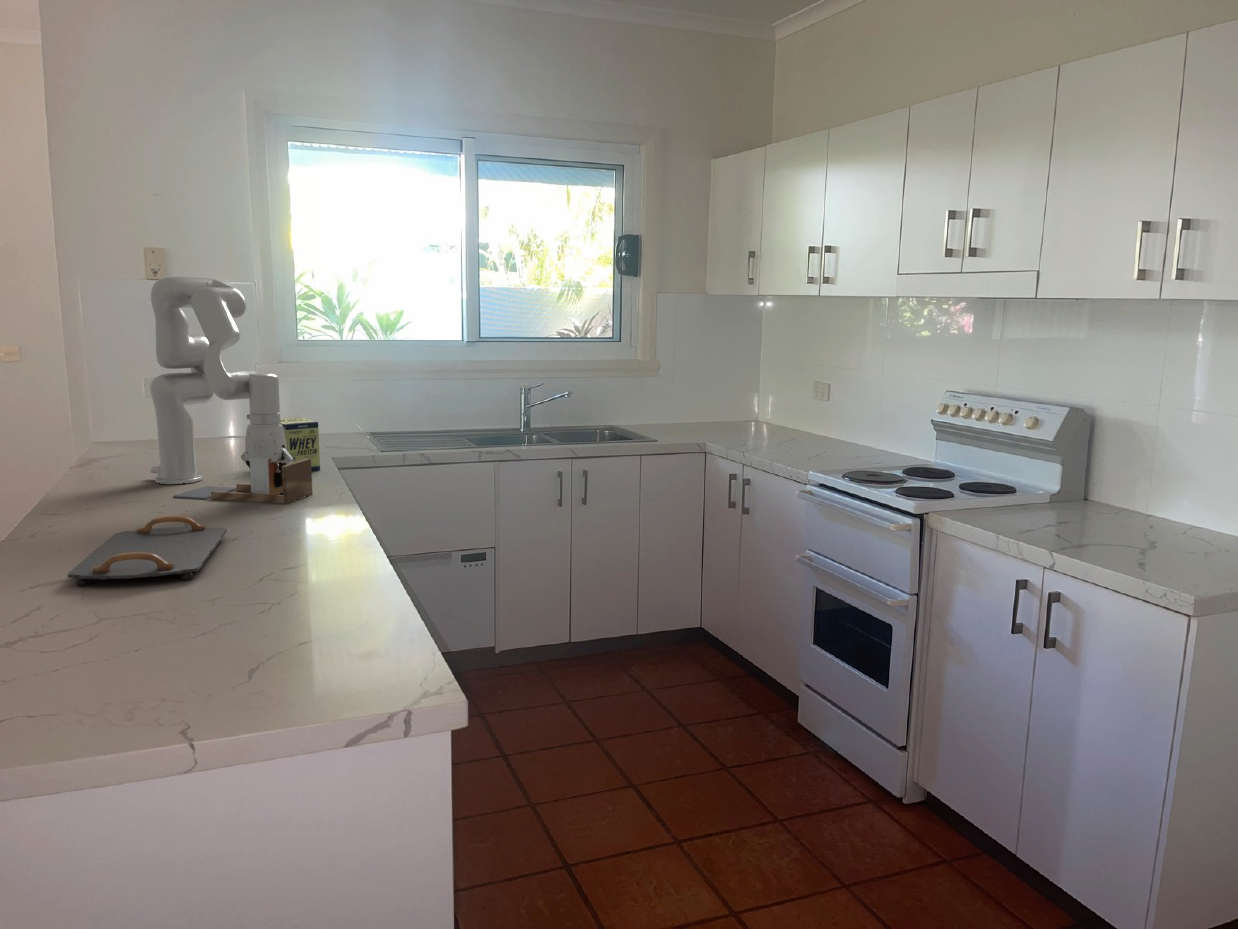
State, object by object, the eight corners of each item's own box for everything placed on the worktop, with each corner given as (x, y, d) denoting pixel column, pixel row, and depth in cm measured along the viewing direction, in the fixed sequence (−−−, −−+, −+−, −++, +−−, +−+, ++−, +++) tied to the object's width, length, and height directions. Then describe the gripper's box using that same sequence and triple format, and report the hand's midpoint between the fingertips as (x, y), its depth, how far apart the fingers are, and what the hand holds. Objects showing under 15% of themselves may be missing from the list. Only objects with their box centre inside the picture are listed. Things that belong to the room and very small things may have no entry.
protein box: (288, 474, 282) (286, 424, 279) (269, 467, 294) (267, 419, 291) (321, 470, 289) (319, 421, 286) (301, 463, 300) (299, 416, 298)
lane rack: (211, 499, 245) (208, 462, 243) (239, 490, 257) (237, 455, 255) (287, 503, 240) (285, 466, 239) (312, 494, 252) (310, 458, 251)
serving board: (120, 541, 202) (118, 514, 201) (232, 536, 208) (230, 510, 207) (60, 595, 165) (56, 561, 164) (197, 587, 171) (195, 555, 170)
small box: (269, 497, 244) (267, 459, 242) (250, 496, 245) (248, 458, 243) (286, 492, 252) (284, 454, 250) (267, 490, 253) (266, 453, 251)
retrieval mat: (173, 497, 246) (173, 495, 246) (206, 487, 260) (206, 486, 260) (206, 499, 244) (206, 497, 244) (237, 489, 258) (237, 487, 258)
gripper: (228, 419, 243) (231, 486, 246) (286, 422, 239) (289, 490, 242) (244, 416, 250) (248, 481, 253) (302, 419, 247) (304, 485, 250)
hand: (268, 485), depth 248 cm, fingers closed on small box, 5 cm apart
